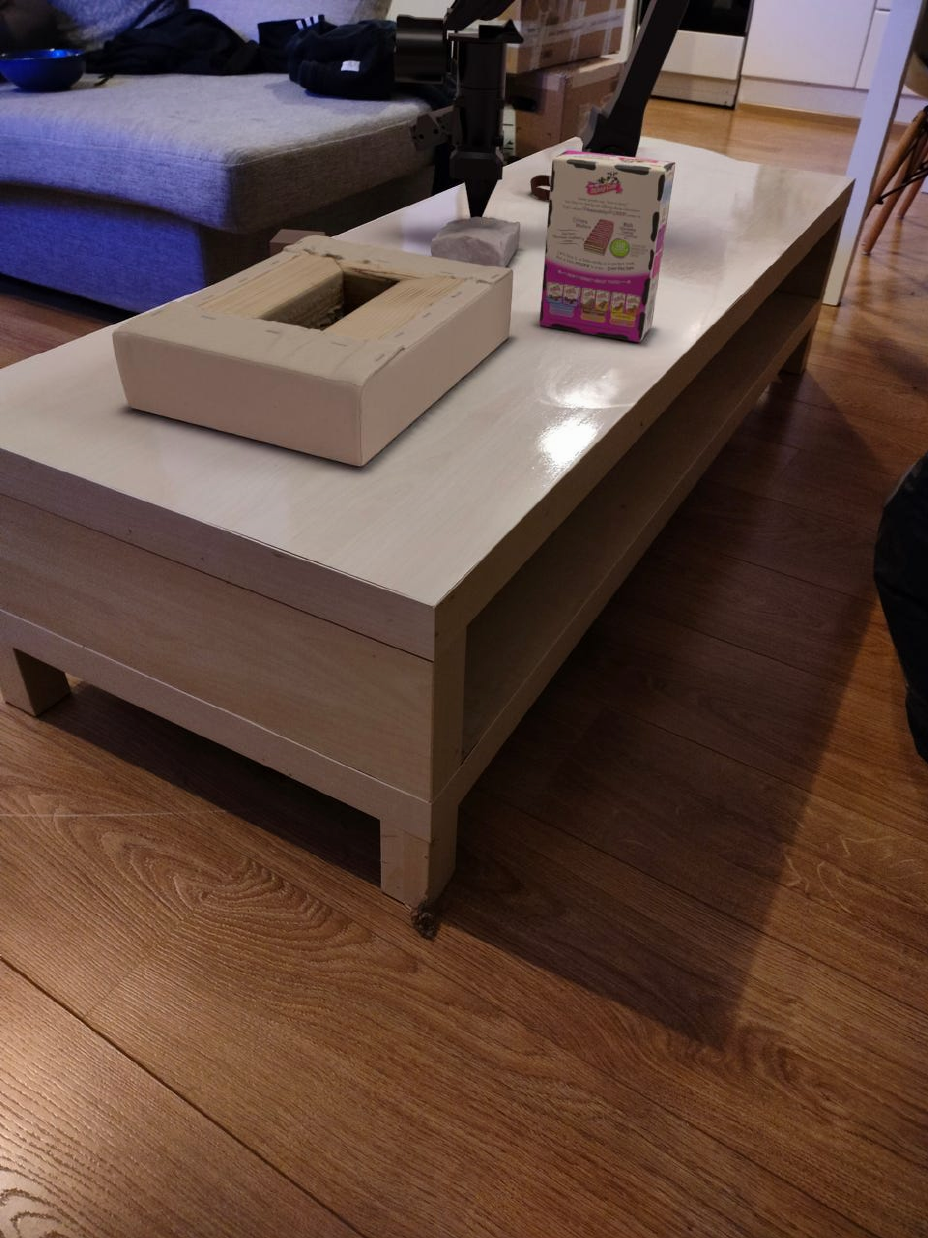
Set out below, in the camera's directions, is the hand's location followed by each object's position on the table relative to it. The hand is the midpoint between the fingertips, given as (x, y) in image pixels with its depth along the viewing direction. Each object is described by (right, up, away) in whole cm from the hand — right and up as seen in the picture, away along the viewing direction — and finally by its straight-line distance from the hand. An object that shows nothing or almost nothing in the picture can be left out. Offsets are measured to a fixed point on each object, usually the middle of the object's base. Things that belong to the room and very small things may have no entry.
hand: (475, 222), depth 124 cm
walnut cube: (-20, -13, -15) cm, 28 cm away
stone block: (0, -6, -5) cm, 8 cm away
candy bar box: (+12, -20, -22) cm, 33 cm away
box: (-14, -28, -34) cm, 45 cm away
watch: (+12, +11, +19) cm, 25 cm away
